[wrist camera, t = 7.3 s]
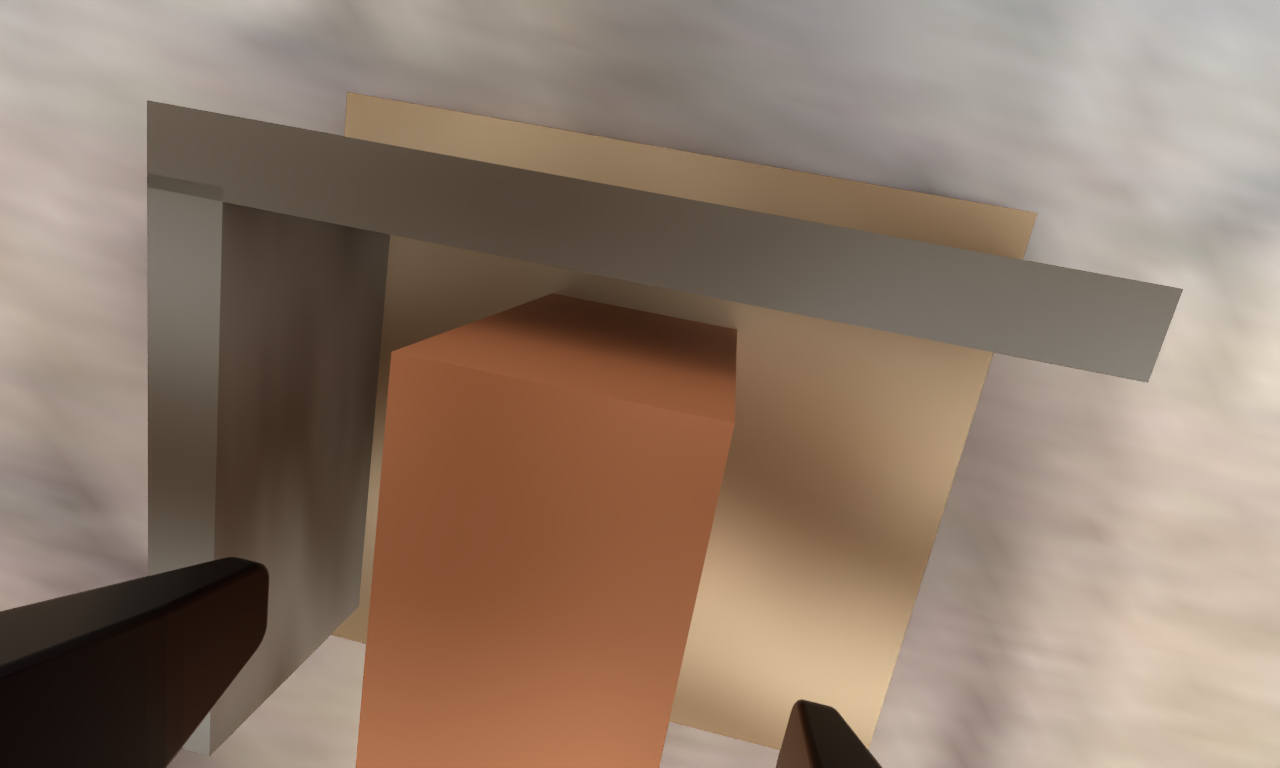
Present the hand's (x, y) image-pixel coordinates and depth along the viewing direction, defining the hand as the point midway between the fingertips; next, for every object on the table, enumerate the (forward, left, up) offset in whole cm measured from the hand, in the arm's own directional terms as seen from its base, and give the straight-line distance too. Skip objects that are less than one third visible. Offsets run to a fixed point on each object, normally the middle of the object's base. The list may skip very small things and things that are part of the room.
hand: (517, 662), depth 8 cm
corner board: (0, 0, -9) cm, 9 cm away
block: (0, 0, -8) cm, 8 cm away
